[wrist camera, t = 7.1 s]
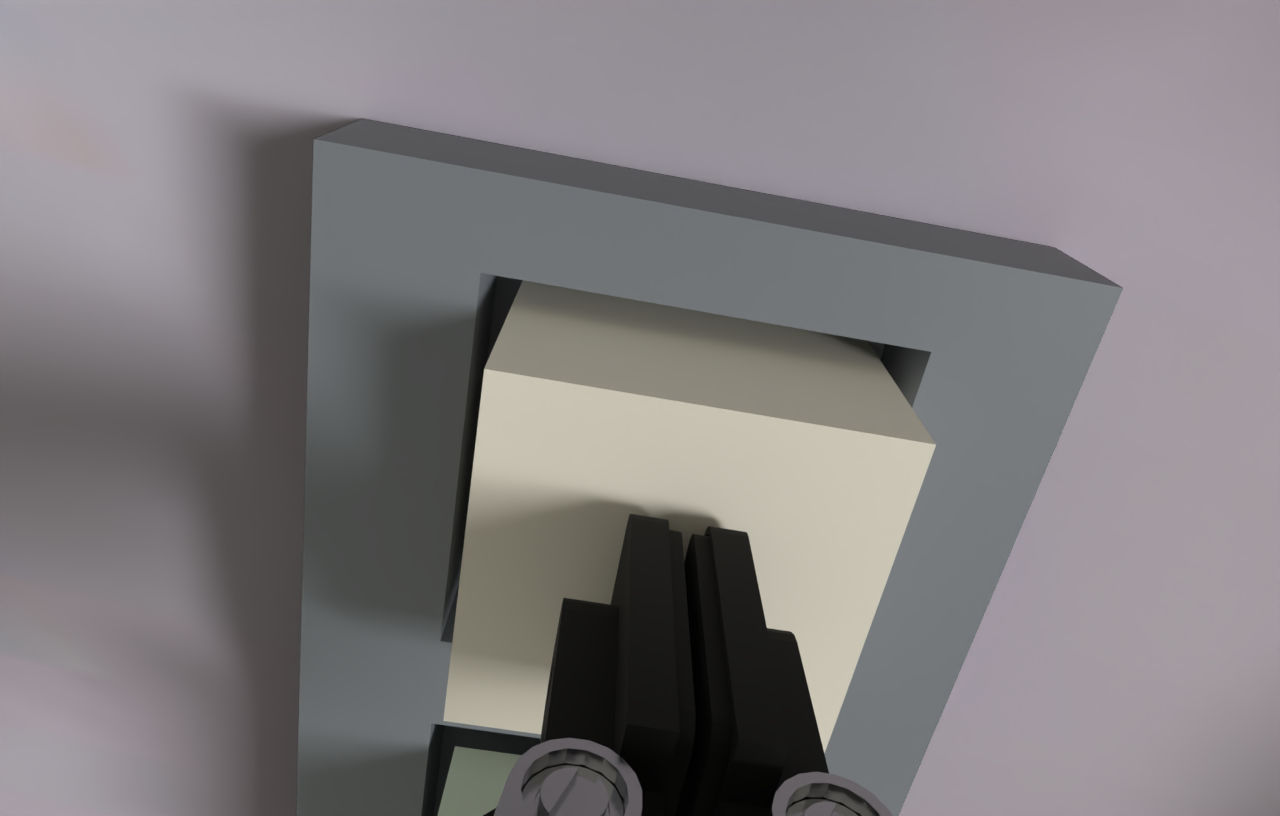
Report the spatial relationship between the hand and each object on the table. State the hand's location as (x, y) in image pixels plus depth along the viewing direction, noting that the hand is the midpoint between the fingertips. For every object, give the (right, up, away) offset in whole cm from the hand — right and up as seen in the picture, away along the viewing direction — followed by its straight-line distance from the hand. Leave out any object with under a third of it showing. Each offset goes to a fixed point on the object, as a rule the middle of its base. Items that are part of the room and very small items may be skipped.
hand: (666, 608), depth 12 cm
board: (-2, -6, +8) cm, 10 cm away
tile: (0, +2, +4) cm, 4 cm away
